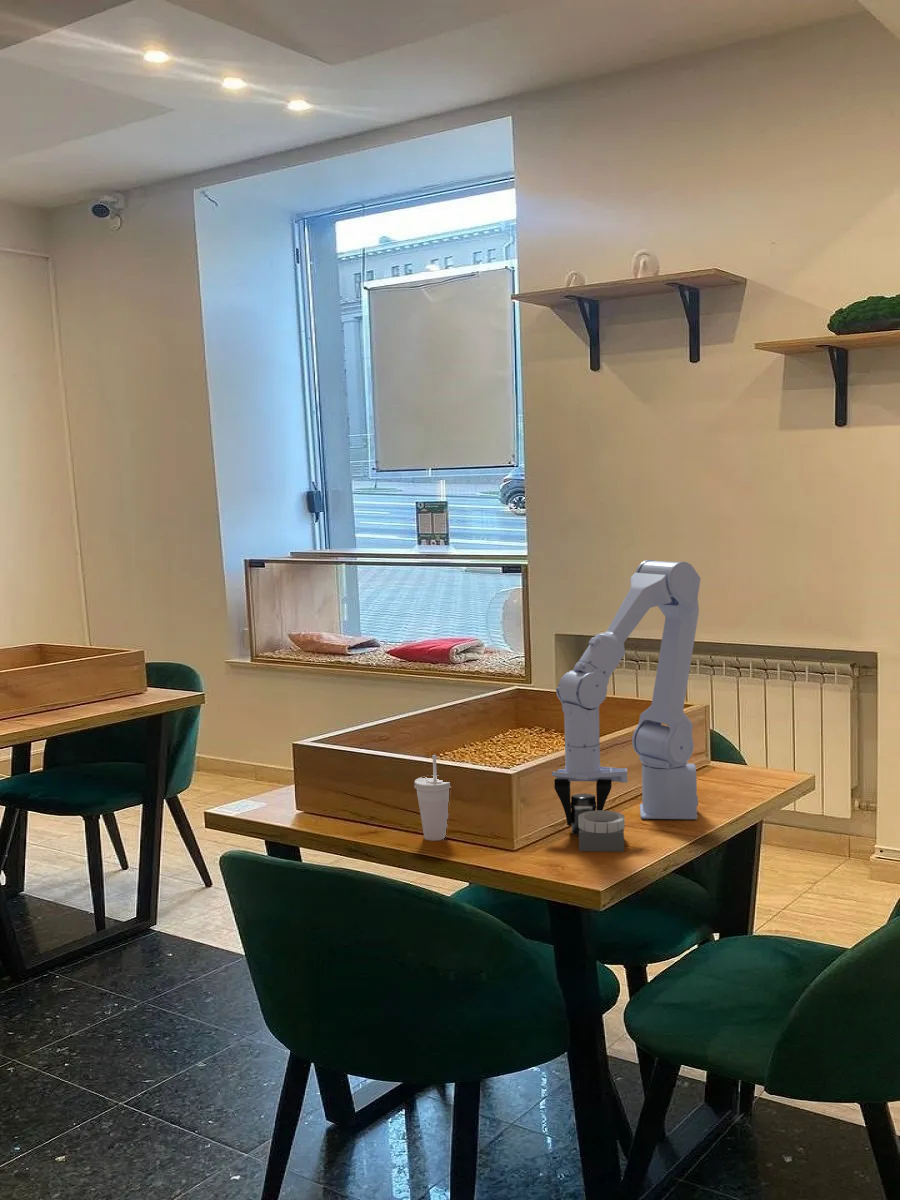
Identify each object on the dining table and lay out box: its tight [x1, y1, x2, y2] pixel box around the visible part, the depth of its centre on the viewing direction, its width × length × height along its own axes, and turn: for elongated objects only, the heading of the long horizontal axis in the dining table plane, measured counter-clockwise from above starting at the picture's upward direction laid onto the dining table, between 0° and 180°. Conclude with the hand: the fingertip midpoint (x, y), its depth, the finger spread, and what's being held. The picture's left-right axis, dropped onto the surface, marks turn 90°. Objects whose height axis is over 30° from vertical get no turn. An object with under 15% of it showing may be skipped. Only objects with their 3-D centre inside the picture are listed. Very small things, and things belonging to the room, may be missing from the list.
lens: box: [570, 793, 597, 836], centre depth 188 cm, size 4×4×6 cm
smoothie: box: [413, 754, 452, 842], centre depth 187 cm, size 6×6×14 cm
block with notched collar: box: [578, 809, 626, 853], centre depth 181 cm, size 7×7×4 cm
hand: (583, 823), depth 188 cm, fingers closed on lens, 4 cm apart
